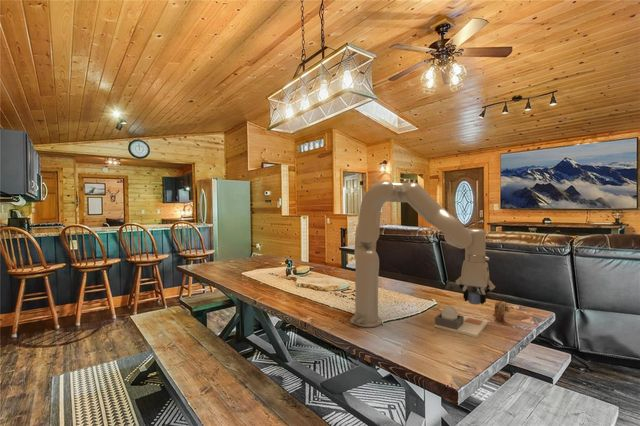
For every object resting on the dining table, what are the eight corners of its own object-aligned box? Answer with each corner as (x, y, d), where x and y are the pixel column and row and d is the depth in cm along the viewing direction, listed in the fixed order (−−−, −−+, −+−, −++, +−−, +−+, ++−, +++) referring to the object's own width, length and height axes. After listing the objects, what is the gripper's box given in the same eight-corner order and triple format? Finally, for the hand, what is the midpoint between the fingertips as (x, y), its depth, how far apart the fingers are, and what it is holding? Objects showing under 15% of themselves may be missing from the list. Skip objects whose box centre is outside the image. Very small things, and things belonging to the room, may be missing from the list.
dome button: (454, 325, 128) (454, 309, 128) (439, 321, 132) (439, 306, 132) (459, 321, 133) (459, 305, 133) (444, 317, 137) (444, 302, 136)
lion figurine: (511, 325, 134) (511, 303, 133) (496, 323, 135) (497, 302, 135) (501, 313, 148) (502, 293, 147) (488, 311, 149) (489, 292, 149)
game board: (476, 337, 122) (476, 327, 122) (434, 326, 132) (434, 317, 132) (488, 323, 136) (488, 313, 135) (448, 314, 146) (449, 305, 146)
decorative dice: (476, 301, 137) (476, 292, 136) (481, 304, 133) (481, 294, 132) (467, 301, 137) (467, 292, 136) (471, 304, 133) (472, 295, 132)
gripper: (500, 259, 131) (499, 303, 132) (456, 255, 142) (455, 296, 143) (496, 262, 125) (495, 308, 126) (450, 257, 136) (450, 300, 137)
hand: (474, 301), depth 135 cm, fingers closed on decorative dice, 5 cm apart
